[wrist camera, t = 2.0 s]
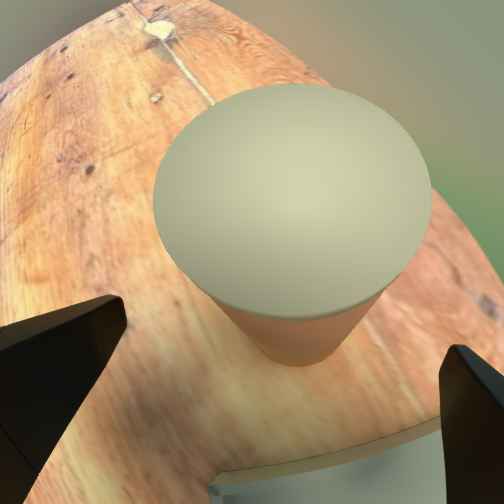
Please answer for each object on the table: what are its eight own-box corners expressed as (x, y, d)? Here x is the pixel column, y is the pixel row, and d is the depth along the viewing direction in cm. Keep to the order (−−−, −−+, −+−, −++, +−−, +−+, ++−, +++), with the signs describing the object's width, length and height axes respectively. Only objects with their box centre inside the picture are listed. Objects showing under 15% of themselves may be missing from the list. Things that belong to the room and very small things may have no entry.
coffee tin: (260, 376, 17) (163, 345, 5) (241, 283, 19) (153, 116, 7) (359, 352, 17) (476, 265, 5) (333, 261, 19) (364, 71, 7)
